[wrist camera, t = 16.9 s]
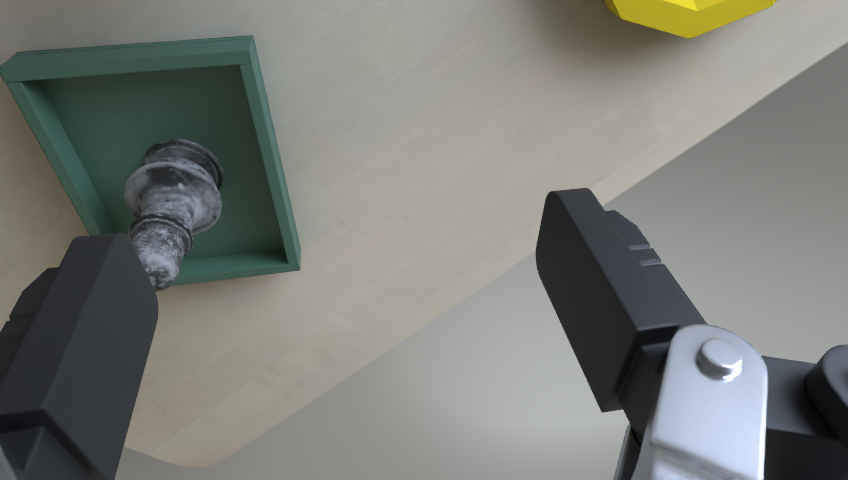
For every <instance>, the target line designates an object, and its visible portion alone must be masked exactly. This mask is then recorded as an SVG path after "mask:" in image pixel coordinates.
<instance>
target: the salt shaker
mask: <svg viewBox="0 0 848 480" xmlns="http://www.w3.org/2000/svg"><path fill="white" fill-rule="evenodd" d="M223 180H224V173H223V168H222V166H221V163H220V161H219V160H218V159H217V157H216V156H215V155H214V154H213V153H212V152H211V151H210V150H208V149H207V148H206V147H204V146H202V145H200V144H198V143H196V142H193V141H189V140H185V139H168V140H163V141H161V142H158V143H156V144H154V145H153V146H152V147H151V148H150V149H149V150H148V151H147V152H146V154H145V156H144V158H143V163H142V167H140V168H138V169H137V170H136V171H135V172H133V173H132V174H131V175H130V176H129V178H128V180H127V182H126V184H125V187H124V199H125V202H126V206H127V207H128V209H129V211H130V212H131V214H132V215H133V216H134V217H135V218H136V219H135V220H134V221H133V222H132V223H131V225H130V227H129V229H128V237H129V239H130V240H131V242H132V244H133V246H134V248H135V250H136V252H137V254H138V256H139V258H140V261H141V263H142V265H143V267H144V269H145V271H146V273H147V275H148V277H149V279H150V281H151V283H152V285H153V287H154V289H155V292H156V291H161V290H164V289H166V288H168V287H170V286H171V285H172V284H173V283H174V282H175V280H176V278H177V277H178V273H179V270H180V266H181V262H182V259H183V257H185V256H186V255H188V254H189V253H190V251H191V250H192V248H193V244H194V239H193V235H195V234H199V233H201V232H203V231H206V230H208V229H209V228H210V227H211V226H213V225H214V224H215V223H216V221H217V220H218V218H219V216H220V213H221V209H222V201H221V195H220V193H219V190H220V189H221V187H222V184H223Z"/></svg>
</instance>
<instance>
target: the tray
mask: <svg viewBox="0 0 848 480" xmlns="http://www.w3.org/2000/svg"><path fill="white" fill-rule="evenodd" d="M0 74H1V76H2V78H3V80H4V81H5V82H6V84H7V86H8V88H9V90H10V92H11V93H12V95H13V97H14V99H15V101H16V103H17V104H18V106H19V108H20V110H21V112H22V113H23V115H24V117H25V119H26V121H27V122H28V124H29V126H30V128H31V130H32V131H33V133H34V135H35V137H36V139H37V140H38V142H39V144H40V146H41V148H42V150H43V151H44V153H45V155H46V157H47V159H48V160H49V162H50V164H51V166H52V168H53V169H54V171H55V173H56V175H57V177H58V178H59V180H60V182H61V184H62V186H63V187H64V189H65V191H66V193H67V195H68V197H69V198H70V200H71V202H72V204H73V206H74V207H75V209H76V211H77V213H78V215H79V216H80V218H81V220H82V222H83V224H84V225H85V227H86V229H87V231H88V233H89V234H90V236H91V235H101V234H111V233H124V234H126V235H127V236H128V229H129V227H130V225H131V223H132V222H133V221H134V220H135V219H136V218H135V217H134V216H133V215H132V214H131V212H130V211H129V209H128V207H127V206H126V202H125V199H124V187H125V184H126V182H127V180H128V178H129V176H130V175H131V174H132V173H133V172H135V171H136V170H137V169H138V168H140V167H142V163H143V158H144V156H145V154H146V152H147V151H148V150H149V149H150V148H151V147H152V146H153V145H154V144H156V143H158V142H161V141H163V140H168V139H185V140H189V141H193V142H196V143H198V144H200V145H202V146H204V147H206V148H207V149H208V150H210V151H211V152H212V153H213V154H214V155H215V156H216V157H217V159H218V160H219V161H220V163H221V166H222V168H223V173H224V180H223V184H222V187H221V189H220V190H219V193H220V195H221V201H222V209H221V213H220V216H219V218H218V220H217V221H216V223H215V224H214V225H213V226H211V227H210V228H209V229H208V230H206V231H203V232H201V233H199V234H195V235H193V239H194V244H193V248H192V250H191V251H190V253H189V254H188V255H186V256H185V257H183V259H182V262H181V266H180V270H179V273H178V277H177V278H176V280H175V282H174V283H173V284H172V285H171V286H174V285H182V284H190V283H199V282H207V281H215V280H224V279H232V278H240V277H249V276H257V275H265V274H274V273H282V272H290V271H299V270H300V261H301V248H300V244H299V239H298V235H297V230H296V226H295V221H294V217H293V212H292V208H291V203H290V199H289V194H288V190H287V185H286V181H285V176H284V172H283V167H282V163H281V158H280V154H279V149H278V145H277V140H276V136H275V132H274V127H273V123H272V118H271V114H270V109H269V105H268V100H267V96H266V91H265V87H264V82H263V78H262V73H261V69H260V64H259V60H258V55H257V51H256V46H255V42H254V37H253V36H239V37H224V38H210V39H196V40H182V41H168V42H154V43H140V44H126V45H112V46H98V47H84V48H70V49H56V50H41V51H27V52H17V53H16V54H15V55H14V56H12V57H11V58H10V59H9V60H8V61H7V62H6V63H4V64H3V65H2V66H1V67H0Z"/></svg>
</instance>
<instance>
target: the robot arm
mask: <svg viewBox="0 0 848 480" xmlns="http://www.w3.org/2000/svg"><path fill="white" fill-rule="evenodd" d="M536 263H537V269H538V273H539V276H540V279H541V281H542V283H543V285H544V287H545V289H546V291H547V294H548V296H549V298H550V300H551V303H552V305H553V307H554V309H555V311H556V313H557V316H558V318H559V320H560V322H561V324H562V327H563V329H564V331H565V333H566V335H567V338H568V339H569V342H570V344H571V346H572V348H573V351H574V353H575V355H576V357H577V359H578V361H579V364H580V366H581V368H582V370H583V372H584V375H585V377H586V379H587V381H588V383H589V385H590V388H591V390H592V392H593V394H594V396H595V399H596V401H597V403H598V405H599V407H600V410H601V411H602V412H609V411H615V410H621V409H623V410H624V412H625V414H626V416H627V418H628V420H629V422H630V423H629V425H628V427H627V430H626V433H625V436H624V440H623V444H622V448H621V452H620V456H619V460H618V463H617V467H616V471H615V475H614V479H613V480H848V345H839V346H835V347H833V348H831V349H829V350H828V351H827V352H826V353H825V354H824V355H823V356H822V358H821V359H820V360H819V361H818V362H817V364H814V363H807V362H800V361H793V360H786V359H780V358H773V357H766V356H761V355H760V354H759V353H758V352H757V350H756V349H755V348H754V347H753V346H752V345H751V344H749V343H748V342H747V341H746V340H744V339H743V338H741V337H740V336H738V335H736V334H735V333H733V332H731V331H728V330H726V329H723V328H720V327H717V326H712V325H708V324H707V323H706V321H705V320H704V319H703V317H702V316H701V315H700V313H699V312H698V310H697V309H696V308H695V307H694V305H693V303H692V302H691V301H690V299H689V298H688V297H687V295H686V294H685V292H684V291H683V290H682V288H681V287H680V285H679V284H678V283H677V282H676V280H675V279H674V277H673V276H672V274H671V273H670V272H669V270H668V269H667V267H666V266H665V265H664V264H661V259H660V258H659V256H658V255H657V254H656V252H655V251H654V249H653V248H650V244H649V242H648V241H647V240H646V238H645V237H644V236H643V234H642V233H641V231H640V230H639V229H638V227H637V226H636V225H635V224H633V223H632V222H631V221H629V220H628V219H626V218H625V217H624V216H622V215H621V214H619V213H618V212H616V211H615V210H612V211H604V209H603V208H602V206H601V205H600V203H599V202H598V200H597V199H596V197H595V196H594V194H593V193H592V191H591V190H589V189H588V188H580V189H570V190H560V191H551V192H549V193H548V195H547V197H546V200H545V205H544V210H543V215H542V220H541V225H540V230H539V235H538V241H537V246H536ZM9 317H10V321H6V323H5V325H4V327H3V329H2V330H1V332H0V480H114V479H115V475H116V471H117V468H118V464H119V460H120V457H121V453H122V449H123V446H124V442H125V438H126V435H127V431H128V427H129V424H130V420H131V416H132V413H133V409H134V405H135V402H136V398H137V394H138V391H139V387H140V383H141V380H142V376H143V372H144V368H145V365H146V361H147V357H148V354H149V350H150V346H151V343H152V339H153V335H154V332H155V328H156V324H157V320H158V300H157V295H156V292H155V289H154V287H153V285H152V283H151V281H150V279H149V277H148V275H147V273H146V271H145V269H144V267H143V265H142V263H141V261H140V258H139V256H138V254H137V252H136V250H135V248H134V246H133V244H132V242H131V240H130V239H129V237H128V236H127V235H126V234H124V233H111V234H101V235H91V236H81V237H76V238H74V239H73V241H72V242H71V244H70V246H69V248H68V250H67V252H66V254H65V256H64V258H63V260H62V262H61V264H60V266H59V267H56V268H47V269H46V270H45V271H44V272H43V273H42V274H41V275H40V276H39V277H38V278H36V279H35V280H34V281H33V282H32V283H31V284H30V285H29V286H28V287H27V288H26V289H25V290H24V291H23V292H22V294H21V296H20V297H19V299H18V301H17V303H16V305H15V307H14V308H13V310H12V312H11V314H10V316H9Z"/></svg>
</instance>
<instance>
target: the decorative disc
mask: <svg viewBox="0 0 848 480" xmlns="http://www.w3.org/2000/svg"><path fill="white" fill-rule="evenodd" d="M604 1H605V3H606V5H607V7H608V9H609V10H610V11H611V12H613V13H614V14H615V15H617V16H618V17H620V18H621V19H623V20H627V21H630V22H634V23H637V24H641V25H644V26H647V27H651V28H654V29H658V30H661V31H665V32H668V33H672V34H675V35H679V36H682V37H685V38H689V39H691V38H693V37H696V36H698V35H701V34H703V33H706V32H708V31H711V30H713V29H716V28H718V27H721V26H723V25H726V24H728V23H731V22H733V21H736V20H738V19H741V18H743V17H746V16H748V15H751V14H753V13H756V12H758V11H761V10H763V9H766V8H768V7H771V6H772V5H773V4H774V3H775V2H776V1H777V0H604Z"/></svg>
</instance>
